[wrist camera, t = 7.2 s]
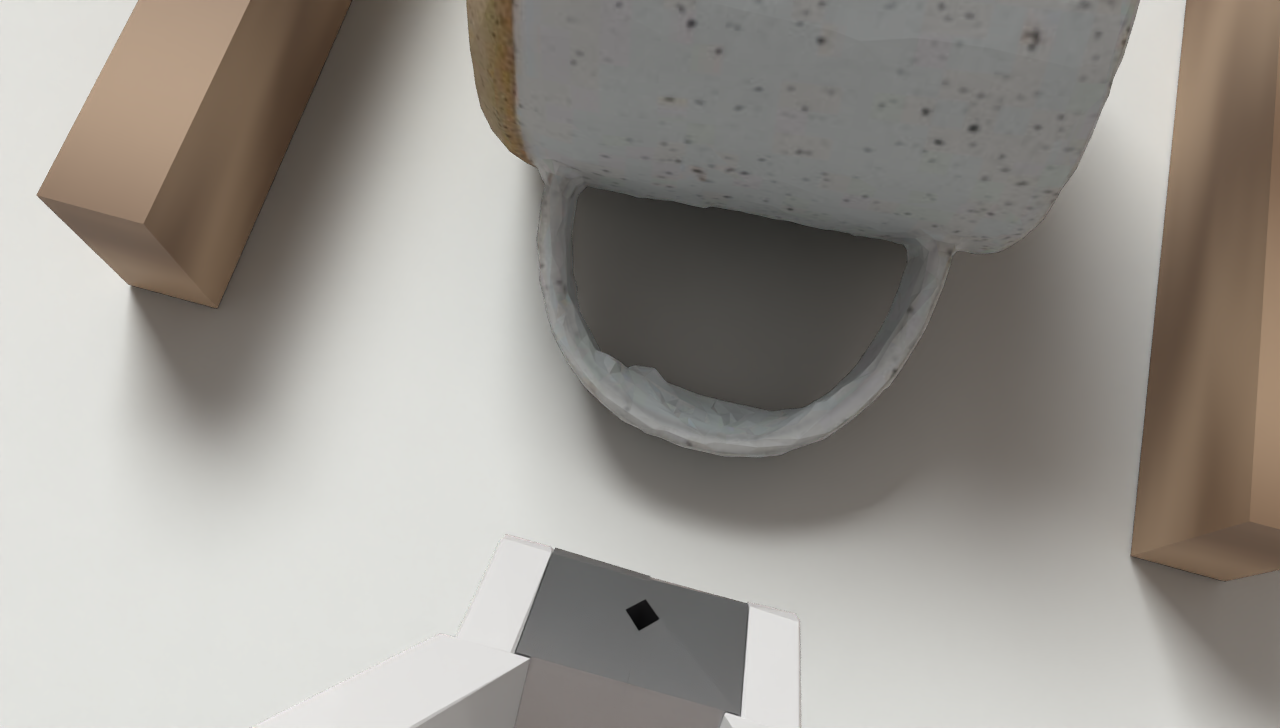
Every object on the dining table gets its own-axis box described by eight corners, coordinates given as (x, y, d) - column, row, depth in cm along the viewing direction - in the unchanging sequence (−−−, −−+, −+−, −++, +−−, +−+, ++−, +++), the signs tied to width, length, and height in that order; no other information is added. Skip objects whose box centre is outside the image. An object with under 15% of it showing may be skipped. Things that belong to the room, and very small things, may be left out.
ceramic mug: (544, -98, 20) (523, -569, 12) (967, -42, 20) (1195, -474, 12) (450, 440, 16) (346, 233, 9) (959, 502, 16) (1262, 347, 9)
